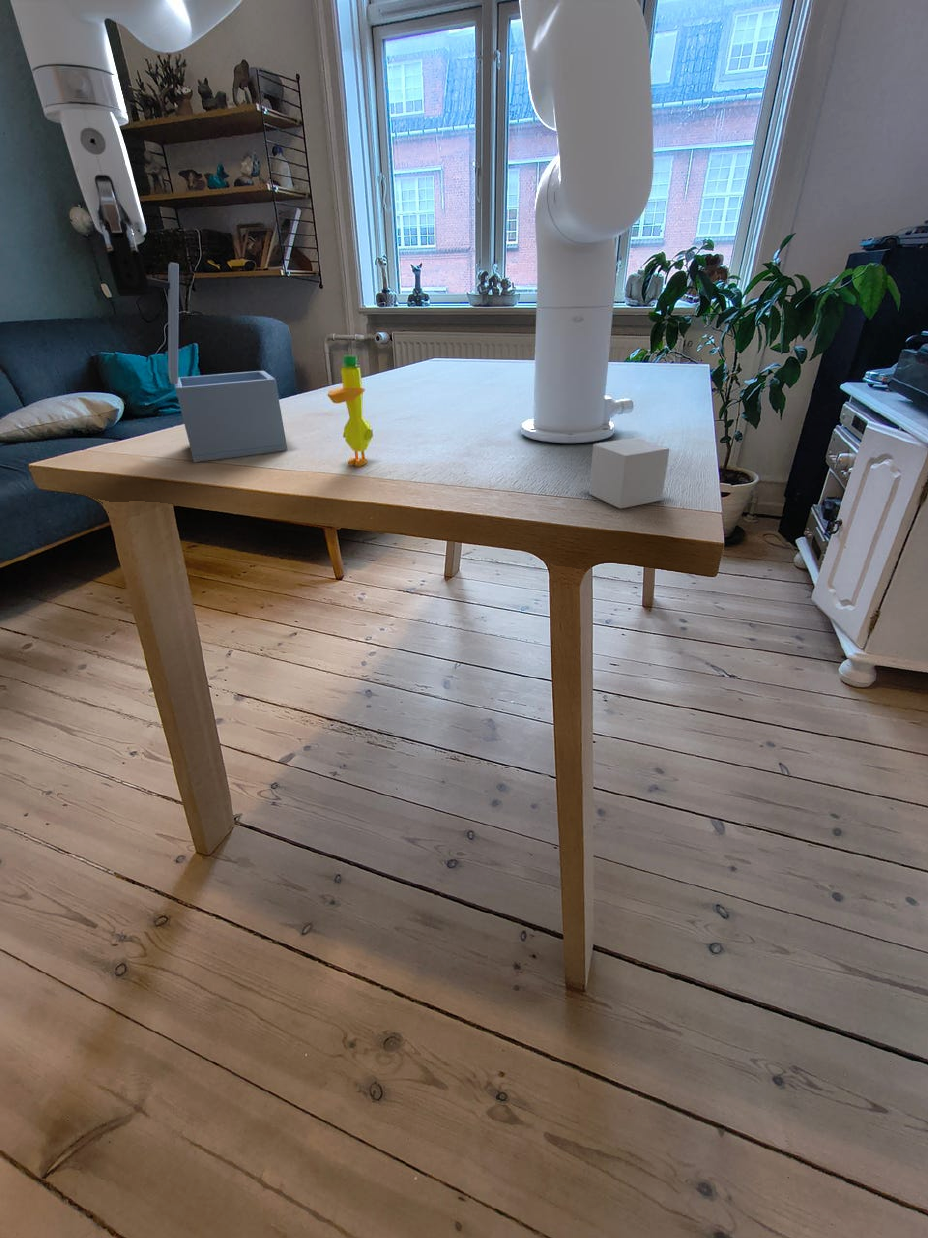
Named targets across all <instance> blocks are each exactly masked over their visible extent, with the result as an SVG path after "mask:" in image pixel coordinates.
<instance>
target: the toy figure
mask: <svg viewBox="0 0 928 1238" xmlns="http://www.w3.org/2000/svg"><path fill="white" fill-rule="evenodd" d="M342 358H343V364H340V367H342V368H341V369H340V373H341V378H342V379H341V381H342V386H341V387H337V388H334V389H331V390H329V391H328V392H327V394H326V395H327V397H328V398H329V400H330V401H331V402H332V403H333V404H342V403H345V405H346V408H347V409H346V410H347V413H348V417H349V418H348V420H347V421H346V424H345V425H344V428H343V435H342V436H343V438H345V442H346V444H347V445H348V446H349V448H350V450H352V451H353V452H354V457H349V460H348V462H347V464H348V466H355V467H362V466H365V465H367V464H368V462H369V461H368V459H367V458H366V456H365V451H366V450H367V449H368V447H369V445H370V443H371V441H372V439H373V437H374V433H373V430H374V429H373V428H371V421H368V422H367V420H366V419H365V418H364V417H363V394H364V393H365V391H366V389H365V388H363V383H362V382H363V381H362V374H361V372H362V371H361V367H359V364H358V365H357V363H358V355H342ZM359 452H360V455H361V458H360V457H359Z"/></svg>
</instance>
